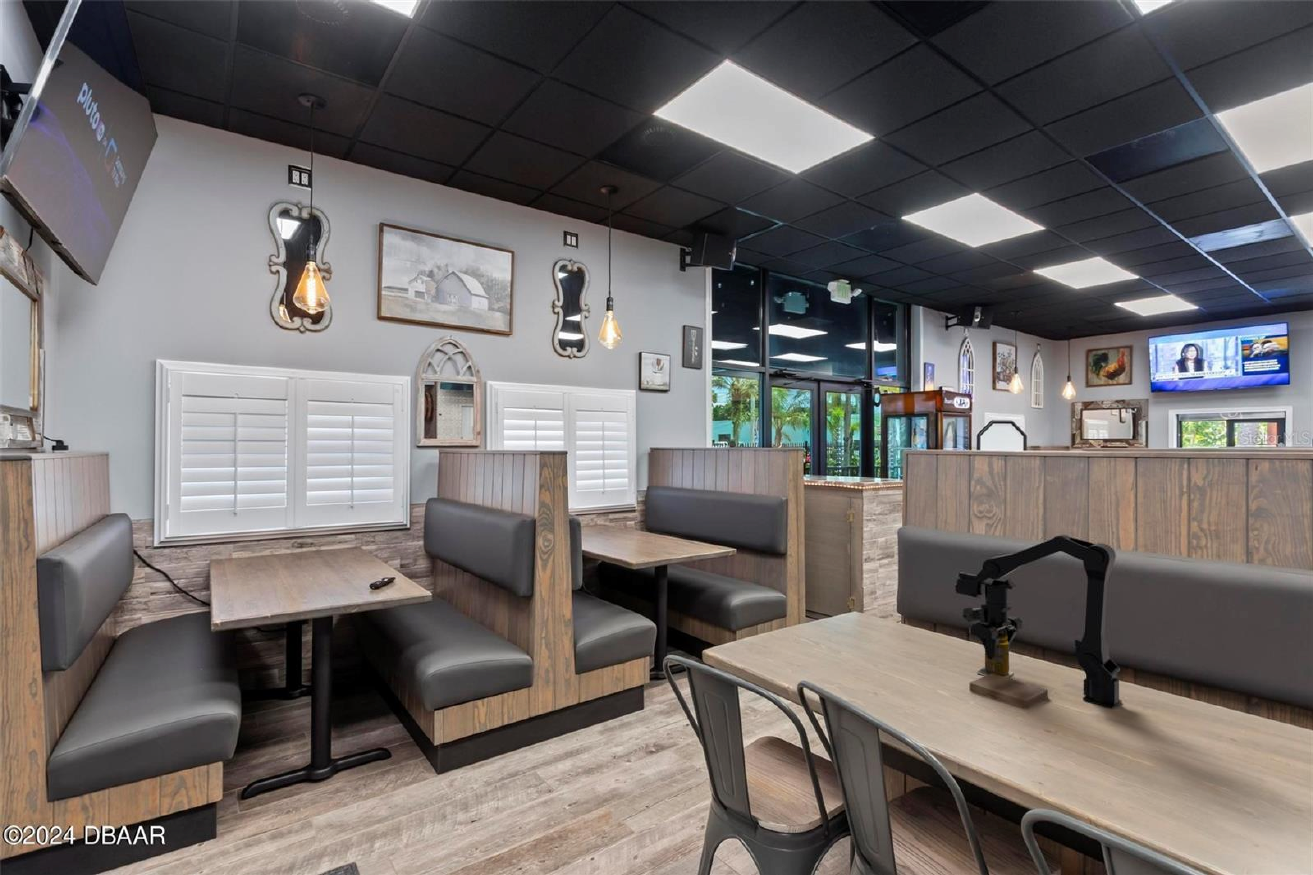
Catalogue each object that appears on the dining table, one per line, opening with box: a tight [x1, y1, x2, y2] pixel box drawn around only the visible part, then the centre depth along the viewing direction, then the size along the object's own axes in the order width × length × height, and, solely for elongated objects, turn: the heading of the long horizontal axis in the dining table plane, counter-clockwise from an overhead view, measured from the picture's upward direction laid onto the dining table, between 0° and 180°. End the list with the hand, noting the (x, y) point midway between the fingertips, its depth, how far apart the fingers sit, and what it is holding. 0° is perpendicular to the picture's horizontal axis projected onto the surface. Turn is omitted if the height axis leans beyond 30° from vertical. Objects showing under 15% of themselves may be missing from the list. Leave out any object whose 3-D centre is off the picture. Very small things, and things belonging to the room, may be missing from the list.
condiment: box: [976, 629, 1015, 678], centre depth 176 cm, size 7×8×12 cm
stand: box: [969, 673, 1049, 710], centre depth 162 cm, size 14×12×2 cm
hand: (996, 656), depth 176 cm, fingers open, 7 cm apart
